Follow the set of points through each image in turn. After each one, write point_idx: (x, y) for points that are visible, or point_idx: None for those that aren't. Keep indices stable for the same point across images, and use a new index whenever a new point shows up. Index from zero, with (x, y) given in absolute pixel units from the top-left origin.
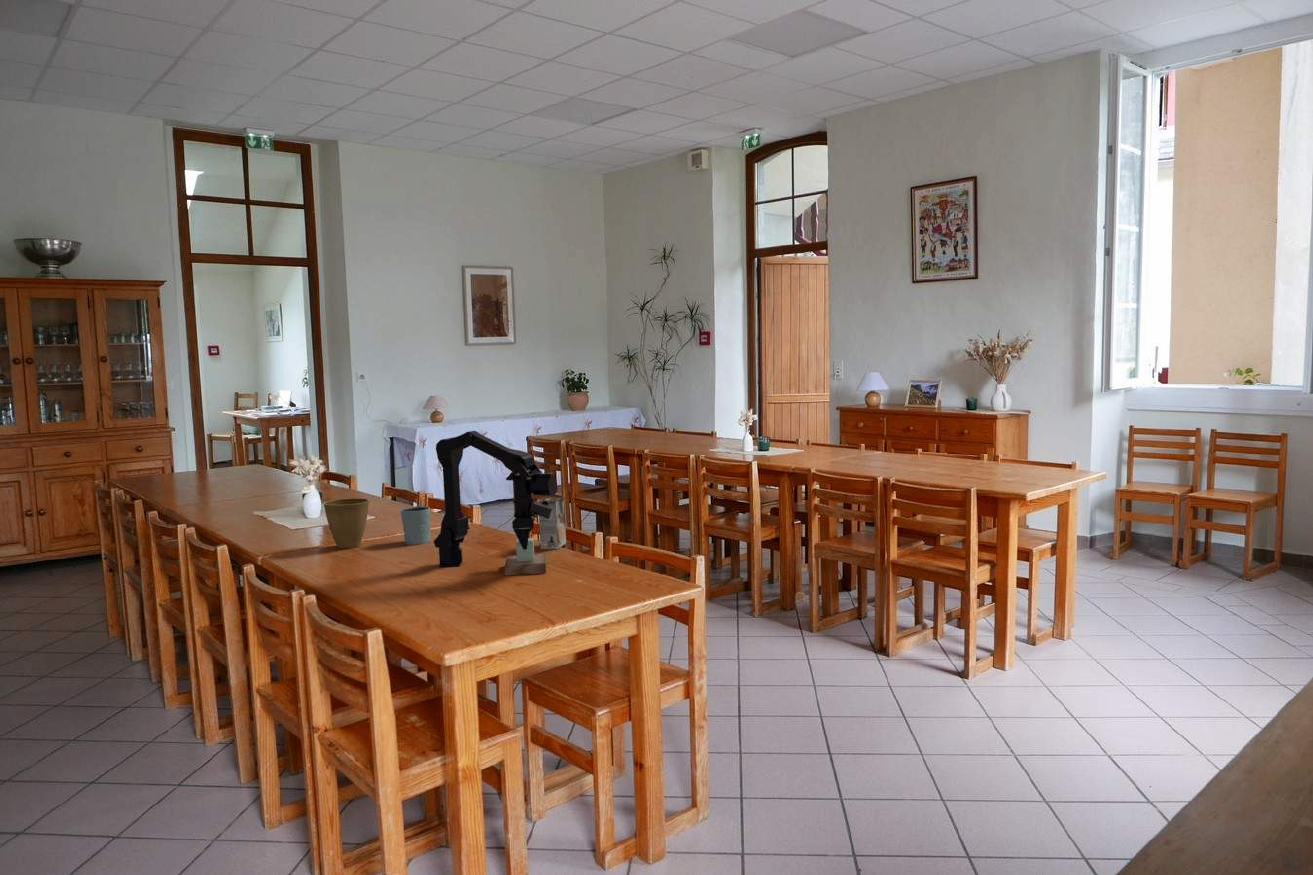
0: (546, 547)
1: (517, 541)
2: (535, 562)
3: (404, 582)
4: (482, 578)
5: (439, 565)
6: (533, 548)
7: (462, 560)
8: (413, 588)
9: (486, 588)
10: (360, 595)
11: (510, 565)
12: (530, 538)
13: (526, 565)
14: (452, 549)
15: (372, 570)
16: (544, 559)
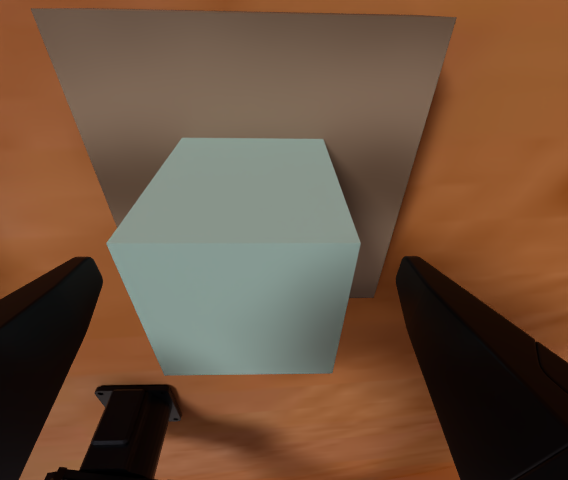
0: None
1: (301, 366)
2: (382, 124)
3: (329, 439)
4: (372, 324)
5: (180, 419)
6: (282, 183)
7: (125, 392)
8: (398, 425)
9: (537, 304)
10: (403, 464)
11: (378, 272)
12: (154, 274)
13: (401, 186)
14: (148, 461)
15: (201, 475)
16: (294, 31)
